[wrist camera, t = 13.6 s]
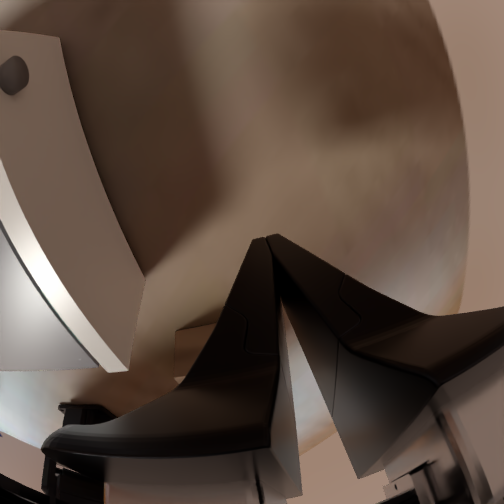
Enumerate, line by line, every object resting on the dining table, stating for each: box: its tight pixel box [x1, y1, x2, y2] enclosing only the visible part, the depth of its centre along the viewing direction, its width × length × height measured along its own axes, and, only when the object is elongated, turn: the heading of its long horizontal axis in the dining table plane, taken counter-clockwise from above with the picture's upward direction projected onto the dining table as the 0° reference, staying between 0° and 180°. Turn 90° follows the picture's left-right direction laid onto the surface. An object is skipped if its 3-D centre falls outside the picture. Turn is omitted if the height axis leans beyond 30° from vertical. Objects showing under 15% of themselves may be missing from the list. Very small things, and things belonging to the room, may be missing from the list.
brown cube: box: [174, 323, 216, 384], centre depth 17 cm, size 4×4×4 cm
